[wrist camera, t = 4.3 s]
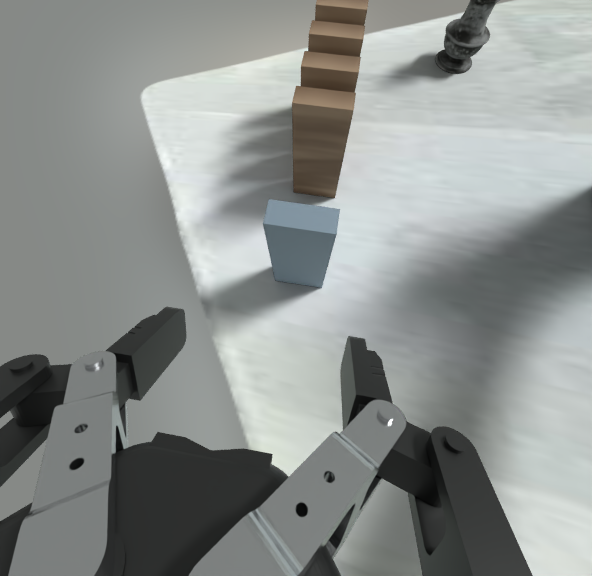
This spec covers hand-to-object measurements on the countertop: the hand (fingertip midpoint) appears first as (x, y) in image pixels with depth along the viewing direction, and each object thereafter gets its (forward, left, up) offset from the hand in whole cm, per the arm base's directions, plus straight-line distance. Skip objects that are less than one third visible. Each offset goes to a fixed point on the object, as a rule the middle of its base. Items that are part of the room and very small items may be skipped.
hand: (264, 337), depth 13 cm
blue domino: (+7, -5, -14) cm, 16 cm away
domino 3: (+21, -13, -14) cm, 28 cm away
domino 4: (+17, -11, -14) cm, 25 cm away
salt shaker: (+31, -38, -14) cm, 51 cm away
